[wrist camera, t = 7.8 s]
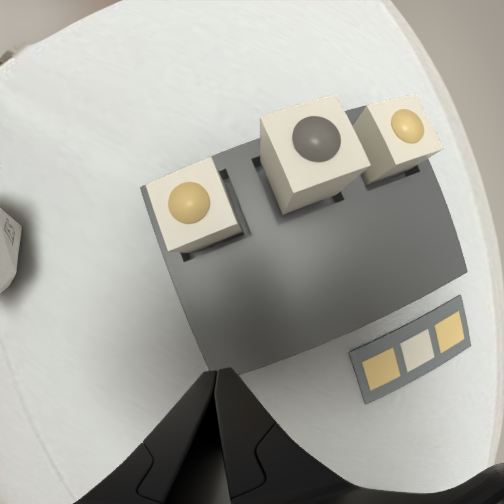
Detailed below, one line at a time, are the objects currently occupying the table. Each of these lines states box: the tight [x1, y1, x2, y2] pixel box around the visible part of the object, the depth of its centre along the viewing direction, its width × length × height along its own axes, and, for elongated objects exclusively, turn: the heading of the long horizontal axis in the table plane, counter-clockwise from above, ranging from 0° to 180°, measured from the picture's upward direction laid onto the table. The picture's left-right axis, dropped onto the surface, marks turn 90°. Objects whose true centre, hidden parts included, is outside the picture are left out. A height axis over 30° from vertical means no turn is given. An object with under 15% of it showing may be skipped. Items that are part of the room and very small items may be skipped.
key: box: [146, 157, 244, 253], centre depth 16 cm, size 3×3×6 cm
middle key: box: [260, 94, 371, 215], centre depth 14 cm, size 3×3×6 cm
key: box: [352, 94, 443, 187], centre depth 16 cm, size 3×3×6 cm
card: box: [349, 295, 471, 404], centre depth 19 cm, size 4×10×1 cm, turn 111°
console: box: [140, 100, 467, 375], centre depth 18 cm, size 12×17×3 cm
